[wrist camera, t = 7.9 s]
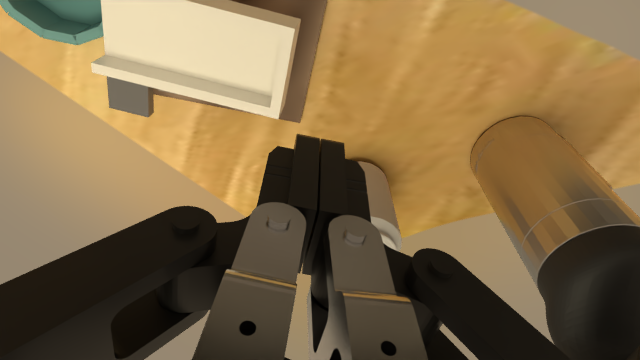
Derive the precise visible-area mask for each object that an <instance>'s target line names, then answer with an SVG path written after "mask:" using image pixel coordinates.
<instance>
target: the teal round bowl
mask: <svg viewBox="0 0 640 360" xmlns="http://www.w3.org/2000/svg"><path fill="white" fill-rule="evenodd" d="M0 5H1V6H2V8H3V9H4V10H5V12H6V13H8V12H9V13H8V15H9V16H11V17H12V18H14V19H15V20H17V21H18V22H20V23H21V24H22V25H24V26H25V27H27V28H28V29H30V30H31V31H33V32H34V33H36V34H37V35H39V36H40V37H43V38H45V39H50V40H55V41H59V42H64V43H69V44H74V45H80V44H83V43H86V42H89V41H91V40H94V39H97V38H100V37H103V36H104V34H103V22H102V9H101V0H0Z"/></svg>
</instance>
